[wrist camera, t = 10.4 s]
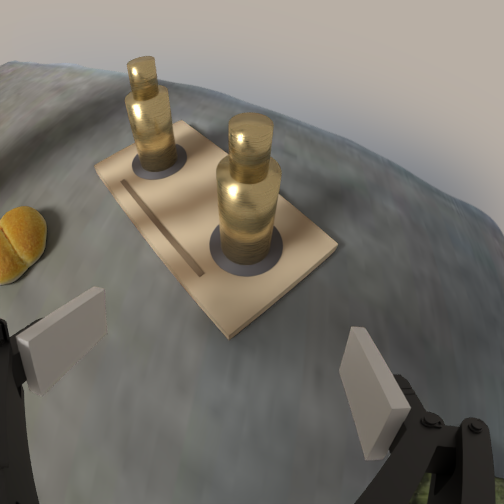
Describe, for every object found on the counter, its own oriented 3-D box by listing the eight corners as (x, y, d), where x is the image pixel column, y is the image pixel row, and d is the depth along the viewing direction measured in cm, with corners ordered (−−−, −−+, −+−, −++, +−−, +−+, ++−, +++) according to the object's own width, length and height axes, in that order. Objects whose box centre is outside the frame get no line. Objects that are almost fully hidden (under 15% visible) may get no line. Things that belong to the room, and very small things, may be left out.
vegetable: (374, 513, 15) (405, 528, 11) (403, 455, 17) (439, 456, 13) (485, 527, 12) (519, 532, 8) (505, 479, 14) (541, 477, 10)
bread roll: (62, 242, 27) (45, 217, 23) (3, 301, 23) (-20, 282, 19) (33, 205, 29) (19, 182, 26) (-18, 256, 25) (-36, 236, 22)
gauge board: (97, 173, 31) (93, 164, 30) (182, 127, 36) (181, 119, 35) (229, 340, 22) (228, 335, 21) (334, 251, 27) (338, 243, 26)
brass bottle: (210, 241, 25) (198, 121, 16) (247, 216, 27) (253, 99, 17) (243, 274, 24) (247, 156, 14) (280, 246, 25) (303, 128, 16)
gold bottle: (134, 159, 31) (111, 65, 21) (165, 143, 32) (151, 50, 23) (151, 177, 29) (128, 75, 19) (184, 159, 31) (172, 58, 21)
